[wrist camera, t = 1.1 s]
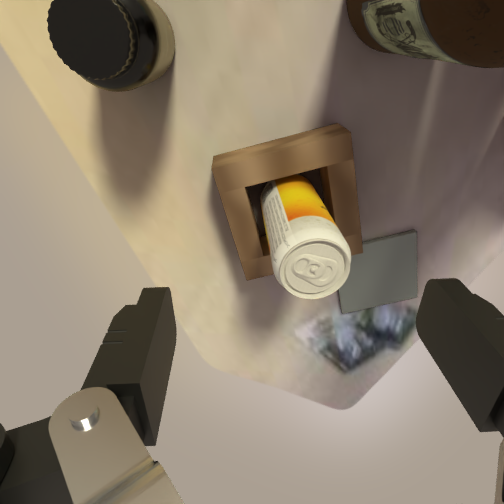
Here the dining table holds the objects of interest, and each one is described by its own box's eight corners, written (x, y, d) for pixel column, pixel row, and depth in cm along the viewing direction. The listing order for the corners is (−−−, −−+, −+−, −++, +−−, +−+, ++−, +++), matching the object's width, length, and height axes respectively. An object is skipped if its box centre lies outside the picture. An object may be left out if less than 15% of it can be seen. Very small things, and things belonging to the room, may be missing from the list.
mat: (414, 229, 42) (416, 231, 41) (415, 294, 47) (417, 297, 46) (331, 249, 43) (333, 252, 42) (341, 311, 48) (342, 314, 47)
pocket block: (337, 123, 35) (350, 132, 31) (350, 233, 42) (363, 252, 38) (213, 156, 36) (211, 168, 32) (245, 259, 43) (246, 280, 39)
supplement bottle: (116, -29, 29) (51, -74, 18) (190, 28, 31) (169, 18, 20) (84, 50, 31) (11, 51, 21) (154, 98, 33) (119, 120, 23)
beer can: (298, 229, 41) (329, 312, 28) (251, 211, 40) (260, 289, 27) (324, 183, 39) (371, 252, 26) (274, 162, 37) (297, 222, 24)
